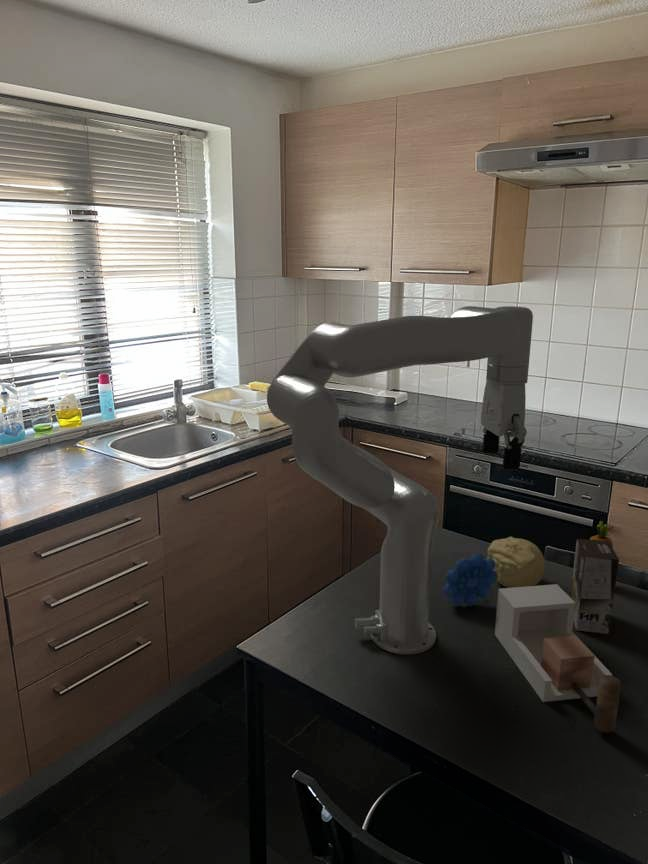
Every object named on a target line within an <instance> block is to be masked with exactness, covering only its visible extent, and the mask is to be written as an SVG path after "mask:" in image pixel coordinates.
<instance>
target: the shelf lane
mask: <svg viewBox="0 0 648 864" xmlns="http://www.w3.org/2000/svg"><path fill="white" fill-rule="evenodd" d="M497 590H498V591H497V602H496V603H497V604H496V613H495V615H496V616H495V625H494V626H495V629H494V636H496V639H497V640H498V642H499V643H500V644H501V646H502V647H503V648H504V649H505V651H506V652H507V654H508V655H509V656H510V658H511V659H512V660H513V662H514V664H515V665H516V666H517V668H518V669H519V671H520V672H521V673H522V675H523V676H524V677H525V679H526V681H528V683H529V684H530V686H531V687H532V688H533V690H534V692H535V693H536V694H537V696H539V697H538V698H540V699H541V702H543V703H545V702H547V703H548V702H555V701H566V700H574V699H581V697H580V696H579V695H578V694H577V692H576V691H575V690H574V689H563V690H557V689H556V687H555V686H554V685H553V684H552V680H551V678H550V677H549V676H548V675H547V673H546V672H545V671H544V669H543V668H542V667H541V661H542V652H543V643H544V639H545V638H556V637H567V636H577V635H576V633H574V632H573V629H574V628H573V627H574V612H575V604H576V603H575V602H574V601H573V600H572V599H571V596H570V595H568V593H566V592H565V590H563V589H562V588H561V587H560V586H559V584H556V583H555V584H544V585H542V584H541V585H535V586H527V587H514V588H507V587H505V588H503V587H502V588H498V589H497ZM578 639H579V640H580V641H581V642H582V643H583V644H584V645H585V643H584V642H583V641H582V640H581V639H580V638H579V637H578ZM591 653H592V654H593V655H594V656H595V657H594V665H593V672H592V680H591V687H583V688H581V689H582V690H583V692H584V693H585V694H586V695H587V696H588V698H594V697H597V696H598V689H599V681H600V677H601V676H603V675H610V676H613V674H612V673H611V671H610V670H609V669H608V668H607V667H606V666H605V665H604V664H603V663H602V662H601V661H600V660H599V659H598V657H596V655H595V654H594V653H593V652H592V651H591Z"/></svg>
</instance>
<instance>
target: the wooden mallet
mask: <svg viewBox="0 0 648 864" xmlns="http://www.w3.org/2000/svg"><path fill="white" fill-rule="evenodd" d="M578 638H579V637H578V636H577V635H576V636H567V637H556V638H545V639H544V643H543V652H542V661H541V667H542V668H543V669H544V671H545V672H546V673H547V675H548V676H549V677H550V678H551V680H552V684H553V685H554V686H555V687H556V689H557V690H563V689H574V690H575V691H576V692H577V694H578V695H579V696H580V697H581V698H580V699H581V700H582V701H583V702H584V704H585V705H586V706H587V708H588V709H589V710H590V711H591V713H593V715H594V720H593V725H594V727H595V728H597V730H599V731H601V732H603V733H612V732H614V731H615V729H616V723H617V715H618V710H619V702H620V696H621V687H622V682H621V680H620V679H619V678H617V677H616V676H613V675H612V676H610V675H603V676H601V677H600V681H599V689H598V696H596V703H594V702H593V701H592V700H591V699H590V697H588V696H587V695H586V694H585V693H584V692H583V690H582V689H581V688H583V687H591V680H592V672H593V665H594V657H595V656H596V655H595V654H594V653H593V652H592V651H591V650H590V649H589V648H588V647H587V645H586V644H585V643H584V642H583V641H582V640H581V639H580V638H579V639H580V640H581V641H582V642H583V643H584V644H583V643H582V642H581V641H580V640H579V639H578ZM591 652H592V653H593V654H594V655H595V656H594V655H593V654H592V653H591Z"/></svg>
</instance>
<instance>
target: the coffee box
mask: <svg viewBox="0 0 648 864" xmlns="http://www.w3.org/2000/svg"><path fill="white" fill-rule="evenodd" d="M574 552H575V554H574V561H573V570H572V571H573V572H572V581H571V589H570V598H571V599H572V600H573V601H574V602H575V603H576V604H575V612H574V621H573V625H574V627H575V630H576V631H579V632H580V631H581V632H589V633H590V632H591V633H596V634H597V633H598V634H605V635H608V634H609V632H610V626H611V619H612V613H613V604H614V598H615V597H614V596H615V589H616V584H617V583H616V582H617V576H618V568H619V562H620V559H619V557H618V555H617V553H616V551H615V550H614V547H613V548H612V546H611V545H610V543H609V541H604V540H590V539H586V538H585V539H581V538H576V544H575V551H574Z"/></svg>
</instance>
